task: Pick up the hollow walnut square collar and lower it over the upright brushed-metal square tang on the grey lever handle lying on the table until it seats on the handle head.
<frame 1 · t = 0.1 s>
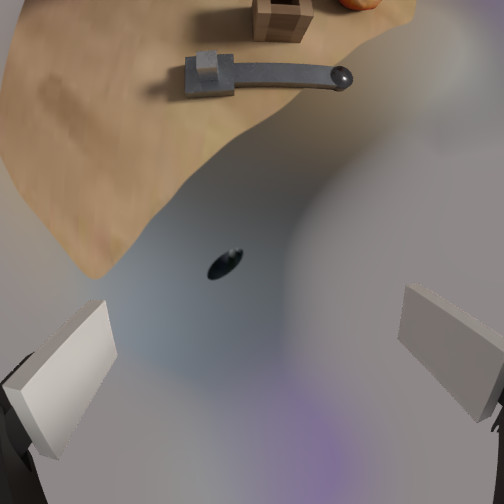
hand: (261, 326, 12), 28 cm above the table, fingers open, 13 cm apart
socket collar: (275, 23, 33), on the table
grey lever handle: (210, 79, 35), on the table
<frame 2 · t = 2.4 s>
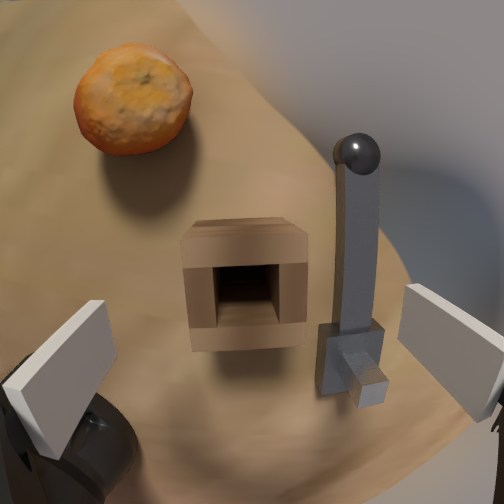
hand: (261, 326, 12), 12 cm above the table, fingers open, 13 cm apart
socket collar: (241, 260, 24), on the table
grey lever handle: (343, 350, 26), on the table
fruit: (146, 112, 21), on the table
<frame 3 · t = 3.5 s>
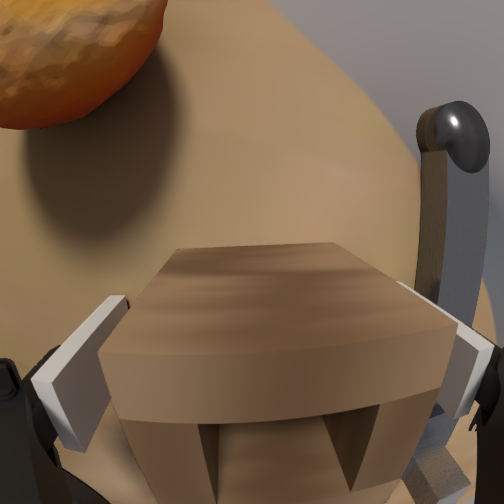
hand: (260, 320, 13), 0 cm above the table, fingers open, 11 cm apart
socket collar: (258, 319, 13), on the table
grey lever handle: (400, 427, 15), on the table
fruit: (94, 60, 10), on the table
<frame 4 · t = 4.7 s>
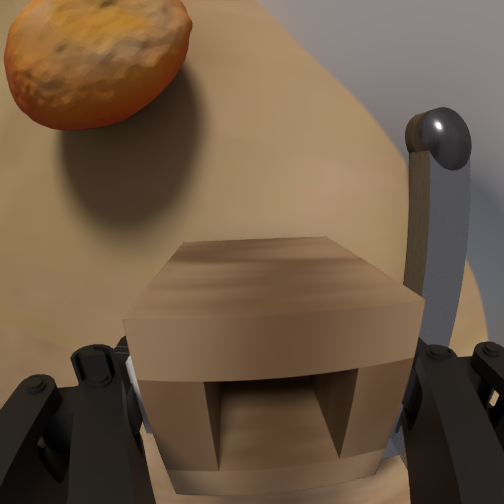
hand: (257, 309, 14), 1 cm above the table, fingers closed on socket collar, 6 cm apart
socket collar: (257, 306, 14), point 1 cm above the table, touching gripper
grey lever handle: (396, 404, 17), on the table
fruit: (124, 70, 13), on the table
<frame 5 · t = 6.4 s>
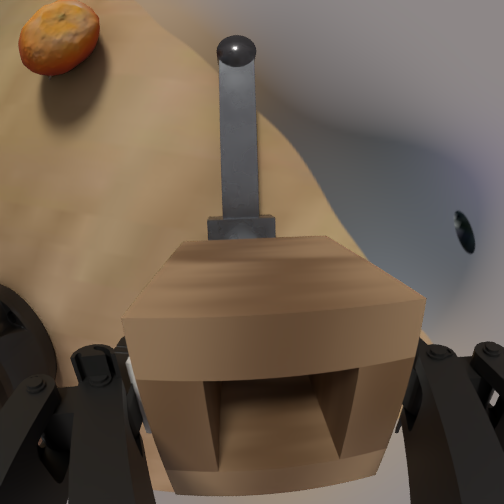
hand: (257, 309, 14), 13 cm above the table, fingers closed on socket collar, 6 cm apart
socket collar: (257, 306, 14), point 13 cm above the table, touching gripper
grey lever handle: (241, 250, 26), on the table
fruit: (75, 50, 21), on the table
when the fingers open (3 cm above the table, at t = 8.1 s): socket collar stays where it is, resting on grey lever handle.
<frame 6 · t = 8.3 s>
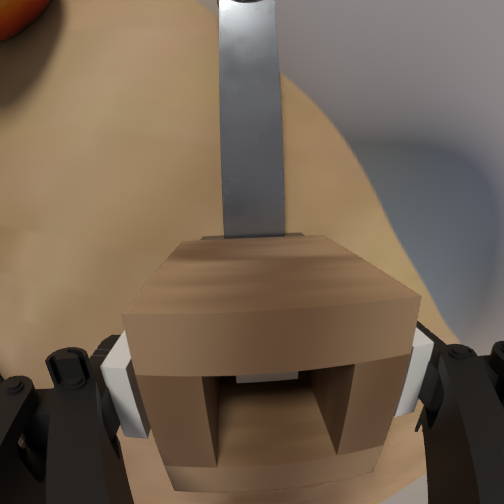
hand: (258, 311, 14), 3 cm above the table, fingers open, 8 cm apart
socket collar: (256, 305, 14), point 2 cm above the table, touching grey lever handle
grey lever handle: (253, 288, 17), on the table
fruit: (28, 10, 12), on the table
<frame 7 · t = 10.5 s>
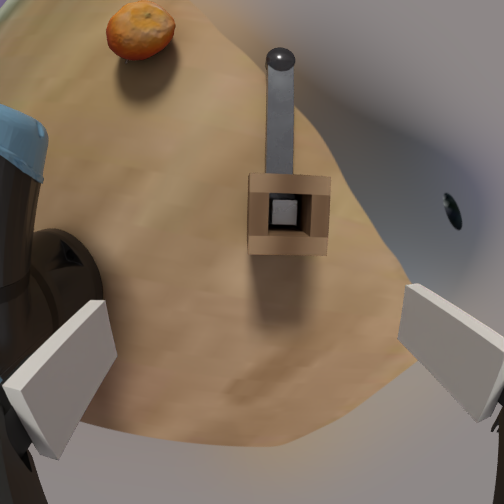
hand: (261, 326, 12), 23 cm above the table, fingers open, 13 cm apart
socket collar: (278, 208, 32), point 2 cm above the table, touching grey lever handle
grey lever handle: (276, 207, 34), on the table
fruit: (148, 43, 29), on the table
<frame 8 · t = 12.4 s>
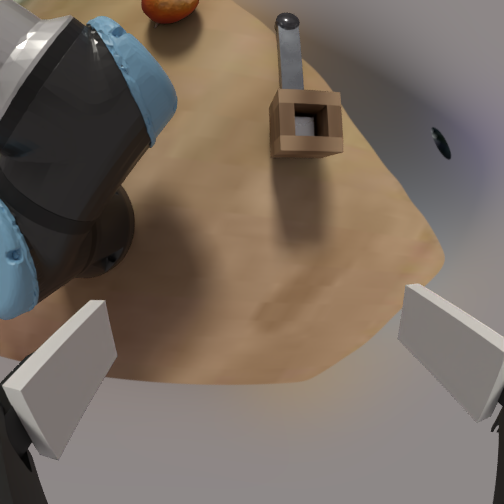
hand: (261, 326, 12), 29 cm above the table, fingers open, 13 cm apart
socket collar: (295, 132, 35), point 2 cm above the table, touching grey lever handle
grey lever handle: (292, 135, 38), on the table
fruit: (174, 11, 33), on the table
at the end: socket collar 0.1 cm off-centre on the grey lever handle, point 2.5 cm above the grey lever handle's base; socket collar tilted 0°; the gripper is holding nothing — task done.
